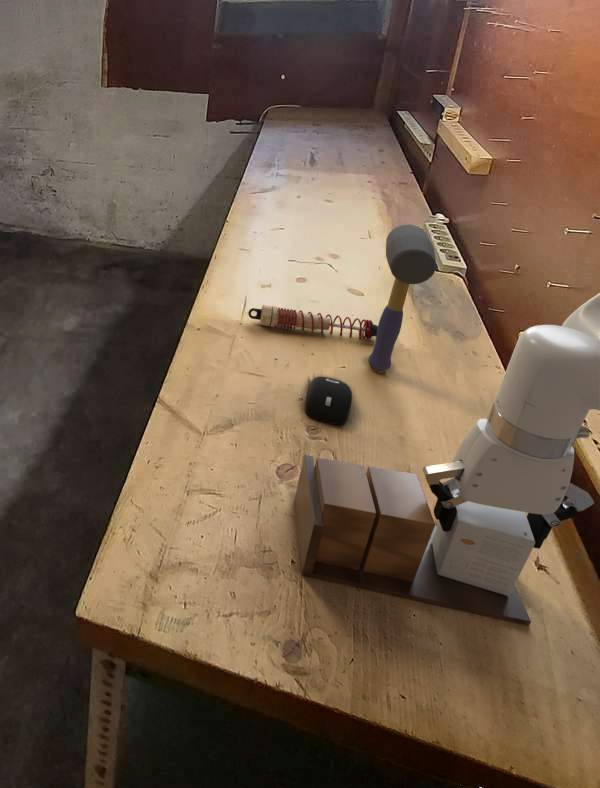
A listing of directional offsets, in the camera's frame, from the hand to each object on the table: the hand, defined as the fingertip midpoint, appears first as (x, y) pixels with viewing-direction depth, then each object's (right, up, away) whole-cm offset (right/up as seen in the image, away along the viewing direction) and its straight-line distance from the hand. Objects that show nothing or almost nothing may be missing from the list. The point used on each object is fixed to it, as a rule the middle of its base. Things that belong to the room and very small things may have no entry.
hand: (485, 530), depth 71 cm
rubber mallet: (+10, +12, +42) cm, 45 cm away
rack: (-8, -7, +6) cm, 12 cm away
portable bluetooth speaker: (-4, +7, +34) cm, 35 cm away
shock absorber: (+4, +18, +55) cm, 58 cm away
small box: (0, -7, +3) cm, 8 cm away
